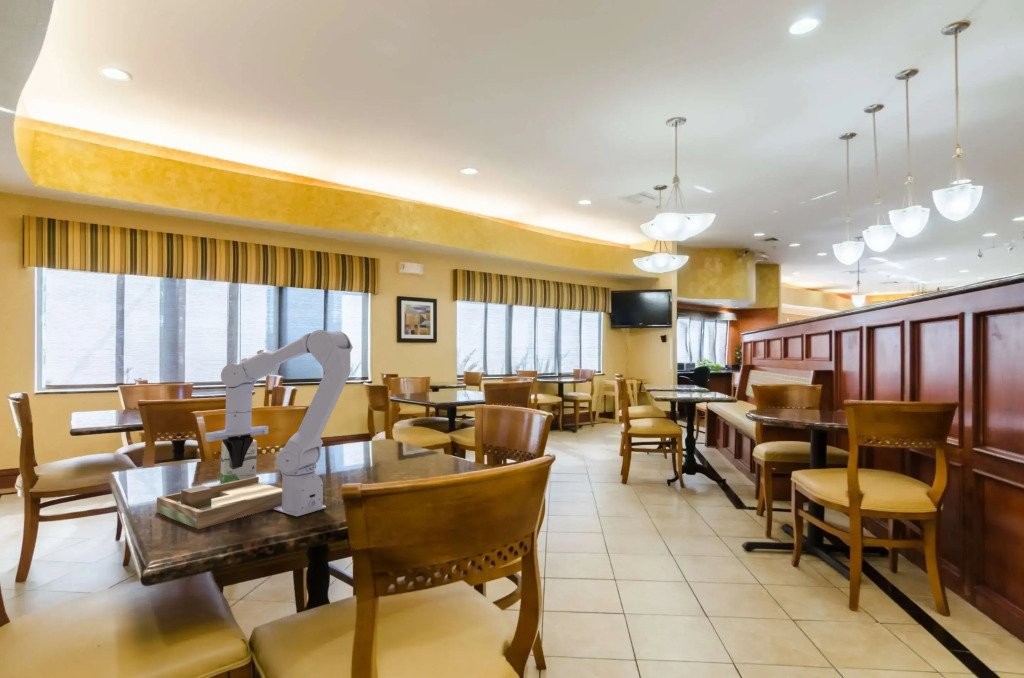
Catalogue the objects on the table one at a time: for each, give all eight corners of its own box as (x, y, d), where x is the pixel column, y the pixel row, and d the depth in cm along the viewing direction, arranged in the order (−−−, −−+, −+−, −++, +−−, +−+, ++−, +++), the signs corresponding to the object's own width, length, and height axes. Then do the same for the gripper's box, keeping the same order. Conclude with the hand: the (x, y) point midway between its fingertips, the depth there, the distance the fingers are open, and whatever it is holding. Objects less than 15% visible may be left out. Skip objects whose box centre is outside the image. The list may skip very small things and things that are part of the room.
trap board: (300, 501, 124) (300, 487, 124) (198, 529, 104) (199, 512, 104) (256, 489, 135) (256, 476, 135) (156, 512, 115) (156, 497, 115)
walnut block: (211, 505, 114) (211, 488, 114) (190, 510, 110) (190, 493, 110) (201, 502, 116) (202, 485, 116) (180, 507, 112) (181, 489, 112)
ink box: (223, 485, 139) (224, 443, 139) (219, 481, 143) (220, 441, 143) (256, 480, 145) (257, 440, 145) (252, 477, 148) (252, 438, 149)
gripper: (258, 408, 130) (256, 459, 129) (199, 413, 118) (197, 470, 117) (273, 409, 126) (272, 462, 126) (214, 415, 114) (213, 474, 113)
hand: (237, 466), depth 121 cm, fingers closed
